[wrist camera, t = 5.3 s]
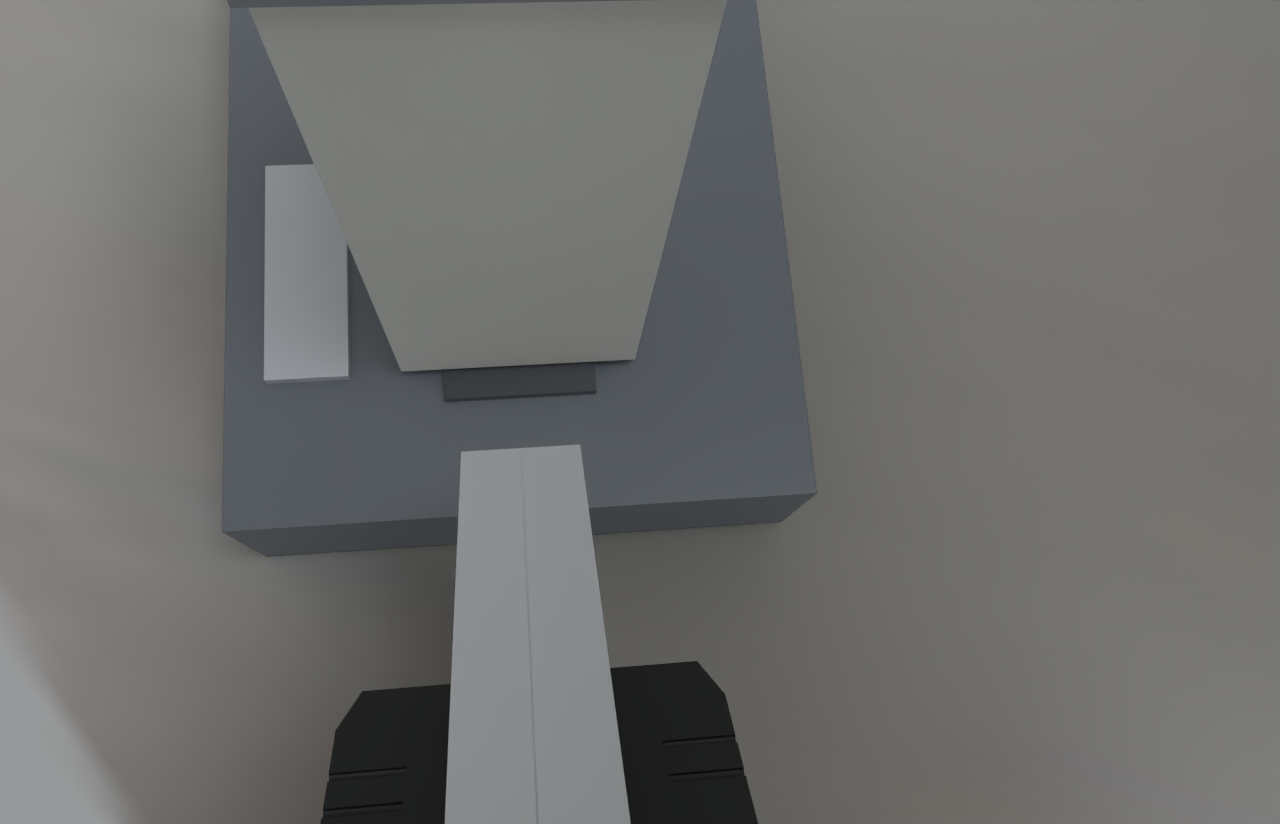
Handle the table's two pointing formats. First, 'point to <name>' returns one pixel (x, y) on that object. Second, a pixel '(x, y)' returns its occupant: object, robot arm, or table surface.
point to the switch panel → (507, 395)
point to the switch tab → (498, 161)
